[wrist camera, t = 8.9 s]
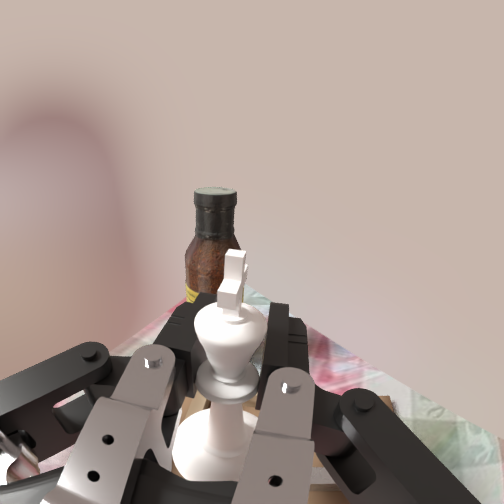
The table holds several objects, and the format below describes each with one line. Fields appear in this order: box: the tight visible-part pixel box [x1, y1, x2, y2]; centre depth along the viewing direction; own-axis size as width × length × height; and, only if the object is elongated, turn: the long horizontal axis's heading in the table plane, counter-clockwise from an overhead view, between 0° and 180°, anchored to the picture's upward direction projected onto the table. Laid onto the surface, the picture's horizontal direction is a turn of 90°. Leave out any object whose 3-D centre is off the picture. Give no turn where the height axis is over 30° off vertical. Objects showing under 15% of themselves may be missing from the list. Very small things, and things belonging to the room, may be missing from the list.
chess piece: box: [172, 249, 267, 482], centre depth 8 cm, size 5×5×10 cm
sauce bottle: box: [185, 187, 244, 303], centre depth 29 cm, size 7×6×20 cm
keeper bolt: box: [309, 467, 341, 491], centre depth 13 cm, size 9×6×2 cm, turn 82°
